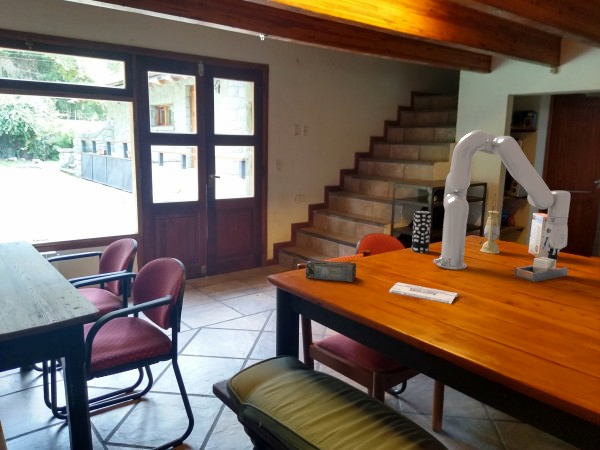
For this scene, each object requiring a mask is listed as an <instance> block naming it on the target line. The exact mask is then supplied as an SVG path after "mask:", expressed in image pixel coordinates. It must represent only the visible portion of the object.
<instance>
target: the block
mask: <svg viewBox="0 0 600 450" xmlns="http://www.w3.org/2000/svg"><path fill="white" fill-rule="evenodd" d="M556 261H557V262H558V259H557V260H554V259H549V258H545V257H540V258H535V257H534V258H533V264H532V265H533V273H537V272H543V271H548V270H554V269H557V268H556V267H557V264H556Z"/></svg>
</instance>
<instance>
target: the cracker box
mask: <svg viewBox="0 0 600 450" xmlns="http://www.w3.org/2000/svg"><path fill="white" fill-rule="evenodd" d="M547 214H548V213H543V212H533V213H532V218H531V219H532V220H531V228H530V236H529V244H528V253H527V254H529V255H531V256H533V257H534V258H540V257H545V258H548V253H547V251H546V250H545V247H544V246H543V239H544V233H545V228H546V225H547V223H546V222H547Z"/></svg>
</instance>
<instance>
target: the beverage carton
mask: <svg viewBox="0 0 600 450" xmlns="http://www.w3.org/2000/svg"><path fill="white" fill-rule="evenodd" d="M356 276H357V263H356V262H351V261H330V260H317V259H310V260H309V261H307V262H306V263H305V279H306V278H307V279H315V280H326V281H328V280H329V281H337V282H338V281H340V282H349V283H352V282H354V280H355V279H356Z"/></svg>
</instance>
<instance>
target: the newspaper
mask: <svg viewBox="0 0 600 450" xmlns="http://www.w3.org/2000/svg"><path fill="white" fill-rule="evenodd" d="M388 293H389V294H395V295H401V296H405V297H411V298H415V299H421V300H426V301H432V302H435V303H436V302H437V303H443V304H447V305H452V303H453V301H454V299H455V298H458V296H459V292H454V291H453V292H452V291H446V290H441V289H437V288H430V287H425V286H420V285H414V284H410V283H405V282H404V283H403V282H396V283H395V284H394V285H393V286H392V287H391V288H390V289H389V290H388Z"/></svg>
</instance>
